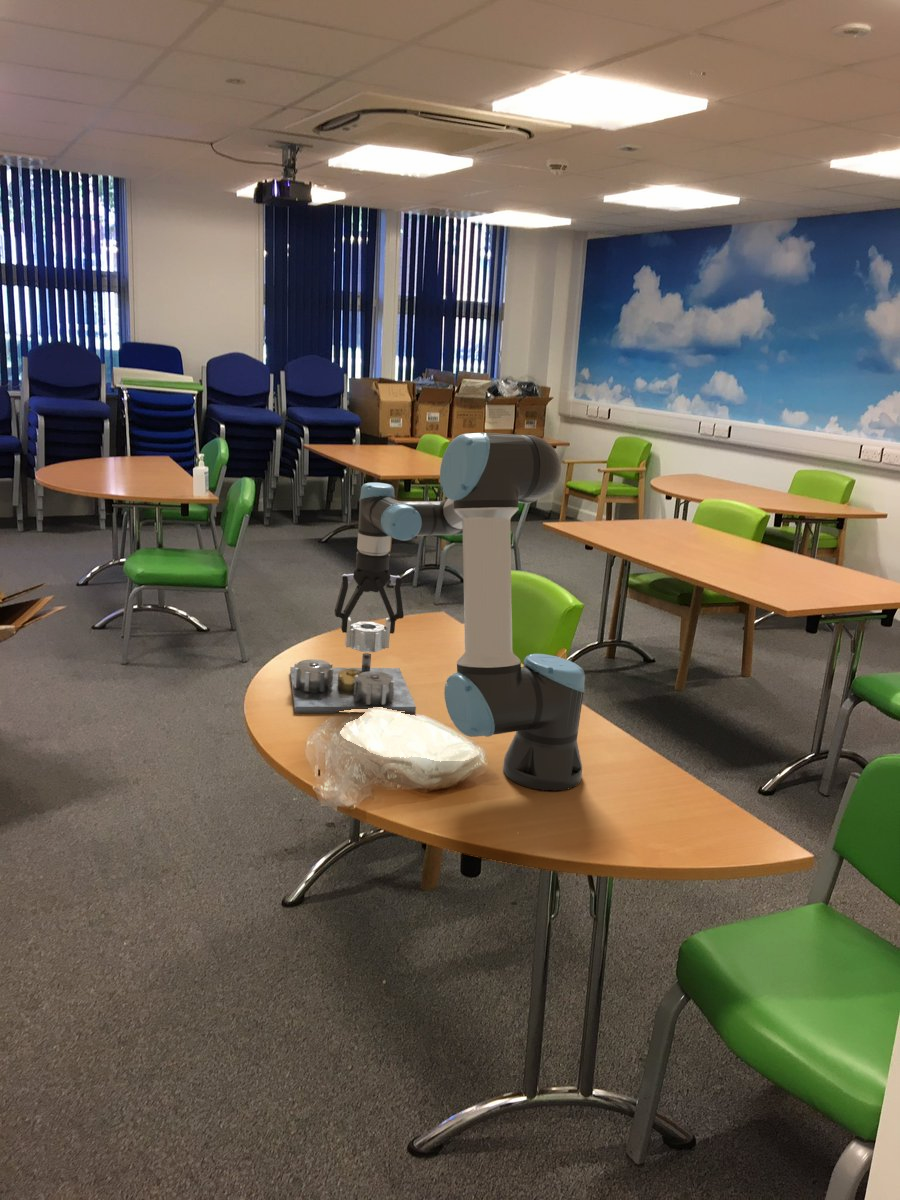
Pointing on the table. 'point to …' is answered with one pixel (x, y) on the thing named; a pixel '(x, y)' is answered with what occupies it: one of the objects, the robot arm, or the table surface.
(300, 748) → the table surface
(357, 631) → the planet gear
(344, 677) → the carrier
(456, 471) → the robot arm
